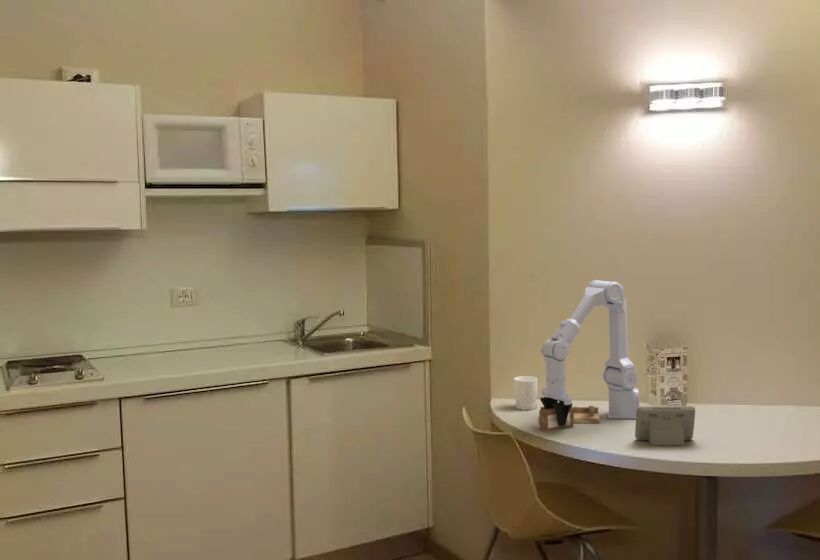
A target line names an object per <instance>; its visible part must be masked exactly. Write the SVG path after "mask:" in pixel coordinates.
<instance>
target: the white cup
mask: <svg viewBox="0 0 820 560" xmlns="http://www.w3.org/2000/svg"><path fill="white" fill-rule="evenodd" d="M513 386H514V387H513V388H514V399H515V407H516V409H517V408H518V409H517V410H520V409H521V411H533V410H536V409H537V406H538V404H537V399H538V377H536V376H532V375H521V376H519V375H518V376H515V377H514V378H513ZM535 408H536V409H535Z"/></svg>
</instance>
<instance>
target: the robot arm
mask: <svg viewBox="0 0 820 560" xmlns="http://www.w3.org/2000/svg"><path fill="white" fill-rule="evenodd" d="M598 306H605V307H606V308H607V309H608V322H609V323H608V324H609V325H608V326H609V327H608V328H609V333H608V334H609V359H608V360H606V361H605V363H604V364H605V365H604V370H603V373H602V374H603V375H602V376H603V377H602V378H603V381H604V383H606V387H607V388H608V410H606V414H607V417H608V419H625V420H626V419H627V420H630V419H634V420H636V411H637V408H638V407H641V406H640V391H639V388H638V387H637V388H635V386H636V385H637V382H638V374H637V373H636V369H635V367H636V366H635V364H634V363H633V362H632V361H631V359H630V358H629V341H628V339H629V338H628V337H629V336H628V302H627V299H626V297H625V288H624V286H622V285H621V284H620V283H619V282H617V281H609V280H608V281H607V280H599V279H594V280H591V281H590V282H589V284H588V286H587V287H585V290H584V295H583V297H582V299H581V300H580V302H579V304H578V306H577V307H576V309H575V310H574V312H573V313H572V315H571V317H570V318H567V319H564V320H563V321H560V324H559V327H558V328H557V330H556V331H555V332H554V334H552V336H551V337H550V338H549V339H547V340H545V342H544V343H543V344H542V348H541V349H540V350H541V351H540V352H541V354H542V355H543V358H544V362H545V382H546V383H545V385H546V386H545V388H544V387H543V388H541V389H540V391H541V396H543V397H540V398H539V399H540V402H541V403H542V405H543V406H542V407H544V408H545V409H552V408H555V410H556V414H557V422H558V426H565V425H566V420H567V416H568V413H569V411H570V409H571V407H573V403H572V397H570V396H569V395H568V394H567V393H566V358H567V357H568V356H569V354H570V348H571V344H572V343H573V342H574V340H575V339H576V337H577V336H578V335H579V333H580V332H581V327H580V326H581V324H582V323H583V321H584V320H585V319H586V318H587V317H588V316H589V314H590V313H591V312H592V311H593V309H594V308H595V307H598Z"/></svg>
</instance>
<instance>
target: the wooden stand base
mask: <svg viewBox="0 0 820 560" xmlns="http://www.w3.org/2000/svg"><path fill="white" fill-rule="evenodd" d="M571 408H573V419H574V424H600V415H599V407H597V406H596V407H595V406H594V405H589V406H584V407H583V406H572V407H571ZM544 409H545V408H544V406H540V410H544Z"/></svg>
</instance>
